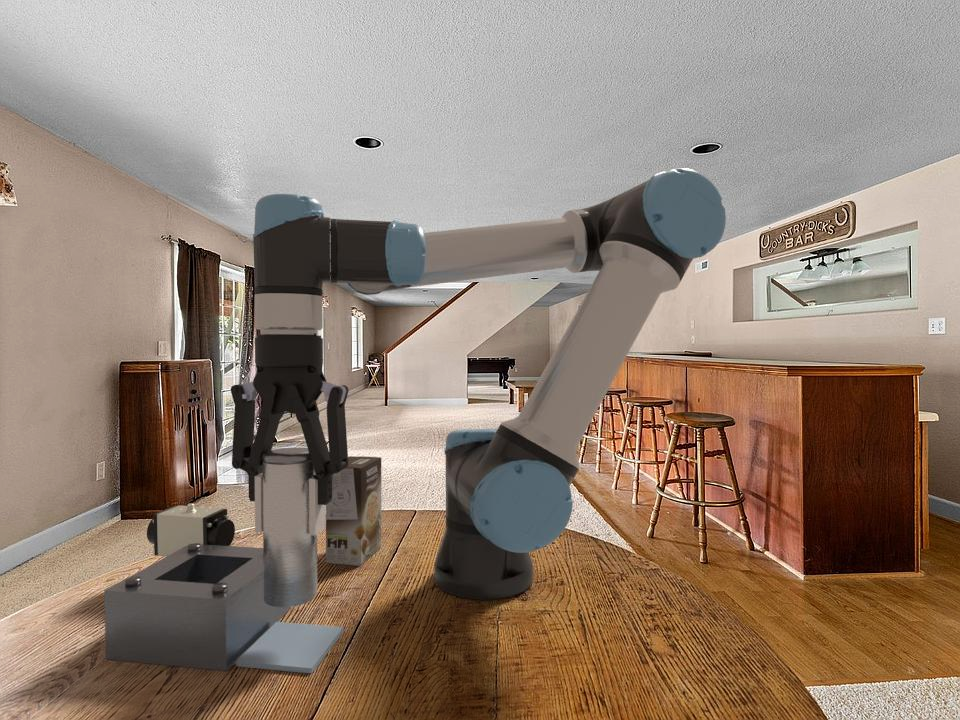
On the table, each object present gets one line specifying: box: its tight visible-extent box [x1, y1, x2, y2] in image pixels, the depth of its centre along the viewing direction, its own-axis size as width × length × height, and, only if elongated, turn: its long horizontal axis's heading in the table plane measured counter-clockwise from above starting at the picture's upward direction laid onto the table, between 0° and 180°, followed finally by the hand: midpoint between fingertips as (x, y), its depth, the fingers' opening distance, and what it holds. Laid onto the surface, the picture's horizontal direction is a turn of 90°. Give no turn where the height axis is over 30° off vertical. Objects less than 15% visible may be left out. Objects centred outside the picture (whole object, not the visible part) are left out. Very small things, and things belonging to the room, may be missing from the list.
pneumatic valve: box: [146, 502, 236, 557], centre depth 85 cm, size 6×12×12 cm, turn 78°
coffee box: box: [325, 455, 383, 567], centre depth 96 cm, size 9×6×16 cm
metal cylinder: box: [262, 447, 318, 608], centre depth 67 cm, size 6×6×17 cm
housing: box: [103, 543, 293, 672], centre depth 71 cm, size 15×15×9 cm
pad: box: [235, 621, 345, 675], centre depth 67 cm, size 9×9×1 cm
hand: (290, 529), depth 67 cm, fingers closed on metal cylinder, 6 cm apart
